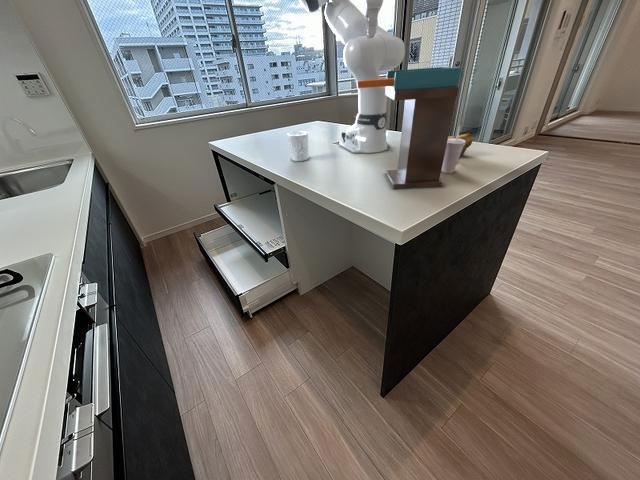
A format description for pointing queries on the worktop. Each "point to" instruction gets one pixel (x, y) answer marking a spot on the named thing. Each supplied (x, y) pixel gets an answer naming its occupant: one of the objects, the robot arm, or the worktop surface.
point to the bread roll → (467, 138)
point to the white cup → (299, 145)
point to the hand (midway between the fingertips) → (371, 36)
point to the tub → (424, 78)
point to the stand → (422, 136)
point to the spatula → (375, 83)
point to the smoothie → (452, 153)
